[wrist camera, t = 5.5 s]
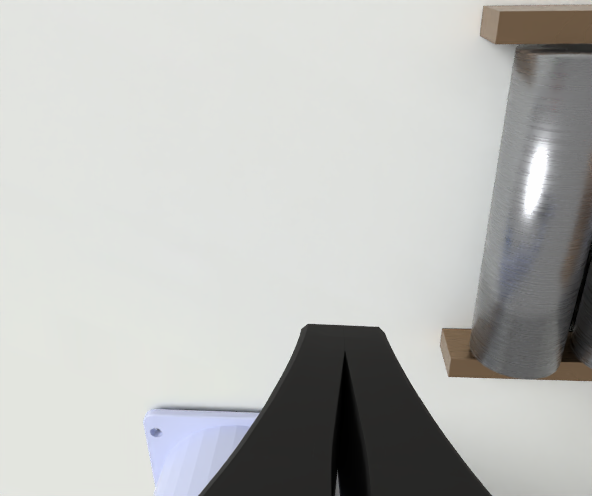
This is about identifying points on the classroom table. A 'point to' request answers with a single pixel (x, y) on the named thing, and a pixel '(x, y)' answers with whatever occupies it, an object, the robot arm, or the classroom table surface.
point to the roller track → (536, 207)
